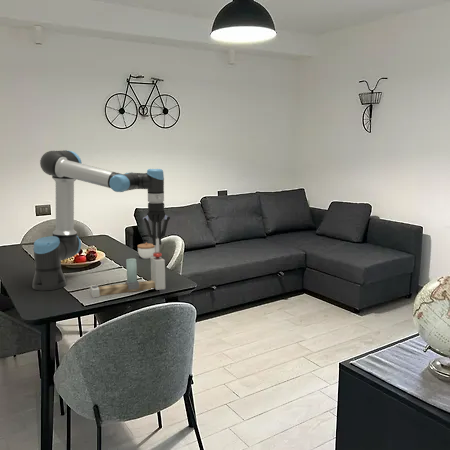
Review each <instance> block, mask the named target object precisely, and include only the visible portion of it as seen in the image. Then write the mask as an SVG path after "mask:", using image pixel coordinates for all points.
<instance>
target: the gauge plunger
mask: <svg viewBox="0 0 450 450" xmlns="http://www.w3.org/2000/svg"><path fill="white" fill-rule="evenodd" d="M152 257H155V260H159V259H160V257H163V256H162V252H155V253H153V256H152Z"/></svg>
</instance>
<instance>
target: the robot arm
mask: <svg viewBox="0 0 450 450" xmlns="http://www.w3.org/2000/svg"><path fill="white" fill-rule="evenodd" d="M39 165H40V168H41V170H42V171H43V173H45V174H46V175H49V176H51V178H52V179H53V180H54V182H55V230H53V231H52V235H51V236H50V235H48V236H44V237H39V238H38V239H36V240H34V243H33V249H32V250H33V259H34V270H35V273H34V275H33V279H32V285H31V286H32V289H33V290H36V291H43V292H44V291H55V290H59V289H61V288H65V287H66V285H67V282H66V277H65V276H64V273H63V270H62V261H64V260H67V259H71V258H73V257H74V256H76V255H77V254H78V253H80V251H81V249H82V240H81V238H79V236H78V231H76V230H75V229H74V227H75V221H74V220H75V219H74V218H75V217H74V216H75V215H74V214H75V181H76V180H77V181H80V182H84V183H89V184H93V185H96V186H100V187H105V188H108V189H111V190H112V191H114V192H116V193H124V192H128V191H133V190H147V202H148V203H147V214H146V216H144V217H142V220H143V223H144V225H145V228H146V232H147V235H148V237H149V238H150V239H152V240H151V241H152V244H153V245H155V253H160V245H162V238H164V237H166V232H167V228H168V223H169V220H170V219H171V216H169V215H166V213H165V175H164V170H163V169H161V168H148V169H147V171H146V172H145V173H144V172H132V171H131V172H126V173H119V172H116V171H112V170H107V169H104V168H100V167H97V166H91V165H88V164H86V163H85V164H84V163H82V160H81V158H80V156H79V155H78V154H77V153H76V152H75V151H72V150H67V149H65V150H64V149H63V150H49V151H47V152H45V153H44V154H42V155H41V157H40V160H39ZM149 220H150V222H151V227H150V223H149ZM162 221H163V222H162ZM162 223H163V224H162Z"/></svg>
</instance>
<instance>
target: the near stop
mask: <svg viewBox="0 0 450 450" xmlns="http://www.w3.org/2000/svg"><path fill="white" fill-rule="evenodd" d="M98 287H99V286H98V284H96V285H95V284H94V285H90V286H89V290H90V292H89V293H90V295H91V296H92V298H93V299H94V298H100V292H99V288H98Z"/></svg>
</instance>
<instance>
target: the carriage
mask: <svg viewBox="0 0 450 450" xmlns="http://www.w3.org/2000/svg"><path fill="white" fill-rule="evenodd" d="M125 263H126V265H125V267H126V280H125V282H124V284H127V285H128V290H131V289H139V282H140V281H138V271H137V270H138V267H137V258H134V257H133V258H127V259H126V260H125Z"/></svg>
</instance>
